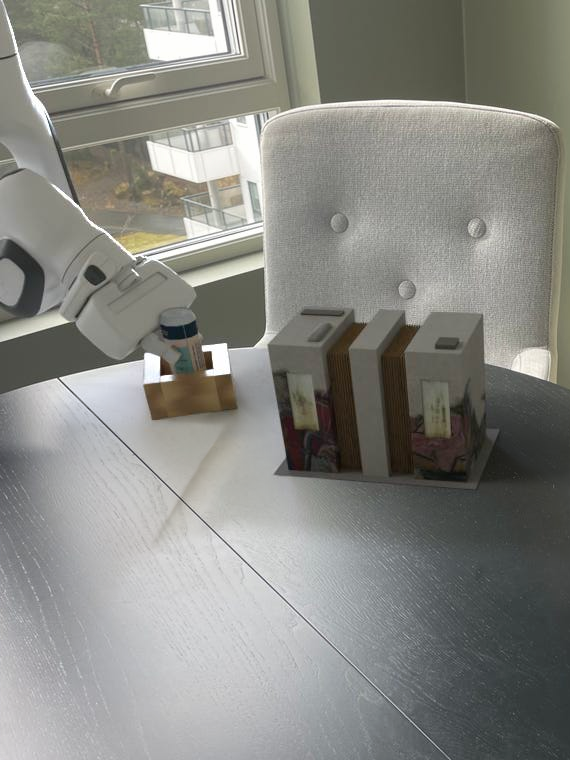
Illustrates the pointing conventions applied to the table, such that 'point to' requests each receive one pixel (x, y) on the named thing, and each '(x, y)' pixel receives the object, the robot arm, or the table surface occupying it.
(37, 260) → the robot arm
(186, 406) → the holder
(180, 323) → the supplement bottle
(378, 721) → the table surface
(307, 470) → the bookend
